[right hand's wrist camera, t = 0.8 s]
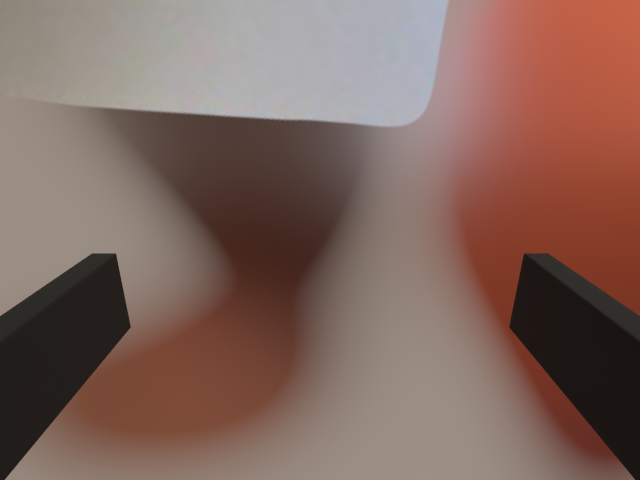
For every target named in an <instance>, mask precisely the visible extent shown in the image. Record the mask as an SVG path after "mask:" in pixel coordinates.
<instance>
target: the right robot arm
mask: <svg viewBox="0 0 640 480" xmlns="http://www.w3.org/2000/svg"><path fill="white" fill-rule="evenodd" d="M130 327H131V326H130V321H129V316H128V312H127V307H126V302H125V297H124V292H123V287H122V282H121V277H120V272H119V267H118V262H117V257H116V254H91V255H89V256H88V257H86V258H85V259H83V260H82V261H81V262H79V263H78V264H76V265H75V266H73V267H72V268H70V269H69V270H67V271H66V272H64V273H63V274H61V275H60V276H59V277H57V278H56V279H54V280H53V281H51V282H50V283H48V284H47V285H45V286H44V287H42V288H41V289H40V290H38V291H37V292H35V293H34V294H32V295H31V296H29V297H28V298H26V299H25V300H23V301H22V302H20V303H19V304H18V305H16V306H15V307H13V308H12V309H10V310H9V311H7V312H6V313H4V314H3V315H1V316H0V480H5V479H6V477H7V476H8V475H9V474H10V473H11V471H12V470H13V469H14V468H15V467H16V465H17V464H18V463H19V462H20V460H21V459H22V458H23V457H24V456H25V454H26V453H27V452H28V451H29V450H30V448H31V447H32V446H33V445H34V443H35V442H36V441H37V440H38V439H39V437H40V436H41V435H42V434H43V433H44V431H45V430H46V429H47V428H48V427H49V425H50V424H51V423H52V422H53V421H54V419H55V418H56V417H57V416H58V415H59V413H60V412H61V411H62V410H63V408H64V407H65V406H66V405H67V404H68V402H69V401H70V400H71V399H72V398H73V396H74V395H75V394H76V393H77V392H78V390H79V389H80V388H81V387H82V385H83V384H84V383H85V382H86V381H87V379H88V378H89V377H90V376H91V375H92V373H93V372H94V371H95V370H96V369H97V367H98V366H99V365H100V364H101V362H102V361H103V360H104V359H105V358H106V356H107V355H108V354H109V353H110V352H111V350H112V349H113V348H114V347H115V346H116V344H117V343H118V342H119V341H120V339H121V338H122V337H123V336H124V335H125V333H126V332H127V331H128V330H129V329H130ZM509 327H510V329H511V330H512V331H513V332H514V333H515V335H516V336H517V337H518V338H519V339H520V341H521V342H522V343H523V344H524V345H525V347H526V348H527V349H528V350H529V352H530V353H531V354H532V355H533V356H534V358H535V359H536V360H537V361H538V362H539V364H540V365H541V366H542V367H543V368H544V370H545V371H546V372H547V373H548V374H549V376H550V377H551V378H552V379H553V381H554V382H555V383H556V384H557V385H558V387H559V388H560V389H561V390H562V391H563V393H564V394H565V395H566V396H567V398H568V399H569V400H570V401H571V402H572V404H573V405H574V406H575V407H576V408H577V410H578V411H579V412H580V413H581V415H582V416H583V417H584V418H585V419H586V421H587V422H588V423H589V424H590V425H591V426H592V428H593V429H594V430H595V431H596V433H597V434H598V435H599V436H600V437H601V439H602V440H603V441H604V442H605V444H606V445H607V446H608V447H609V448H610V450H611V451H612V452H613V453H614V454H615V456H616V457H617V458H618V459H619V460H620V462H621V463H622V464H623V465H624V466H625V468H626V469H627V470H628V471H629V473H630V474H631V475H632V476H633V477H634V479H635V480H640V316H639V315H637V314H636V313H634V312H633V311H631V310H630V309H628V308H627V307H625V306H624V305H622V304H621V303H620V302H618V301H617V300H615V299H614V298H612V297H611V296H609V295H608V294H606V293H605V292H603V291H602V290H601V289H599V288H598V287H596V286H595V285H593V284H592V283H590V282H589V281H587V280H586V279H584V278H583V277H581V276H580V275H579V274H577V273H576V272H574V271H573V270H571V269H570V268H568V267H567V266H565V265H564V264H562V263H561V262H559V261H558V260H557V259H555V258H554V257H552V256H551V255H549V254H524V257H523V262H522V267H521V272H520V277H519V282H518V287H517V292H516V297H515V302H514V306H513V311H512V316H511V322H510V326H509Z"/></svg>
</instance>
